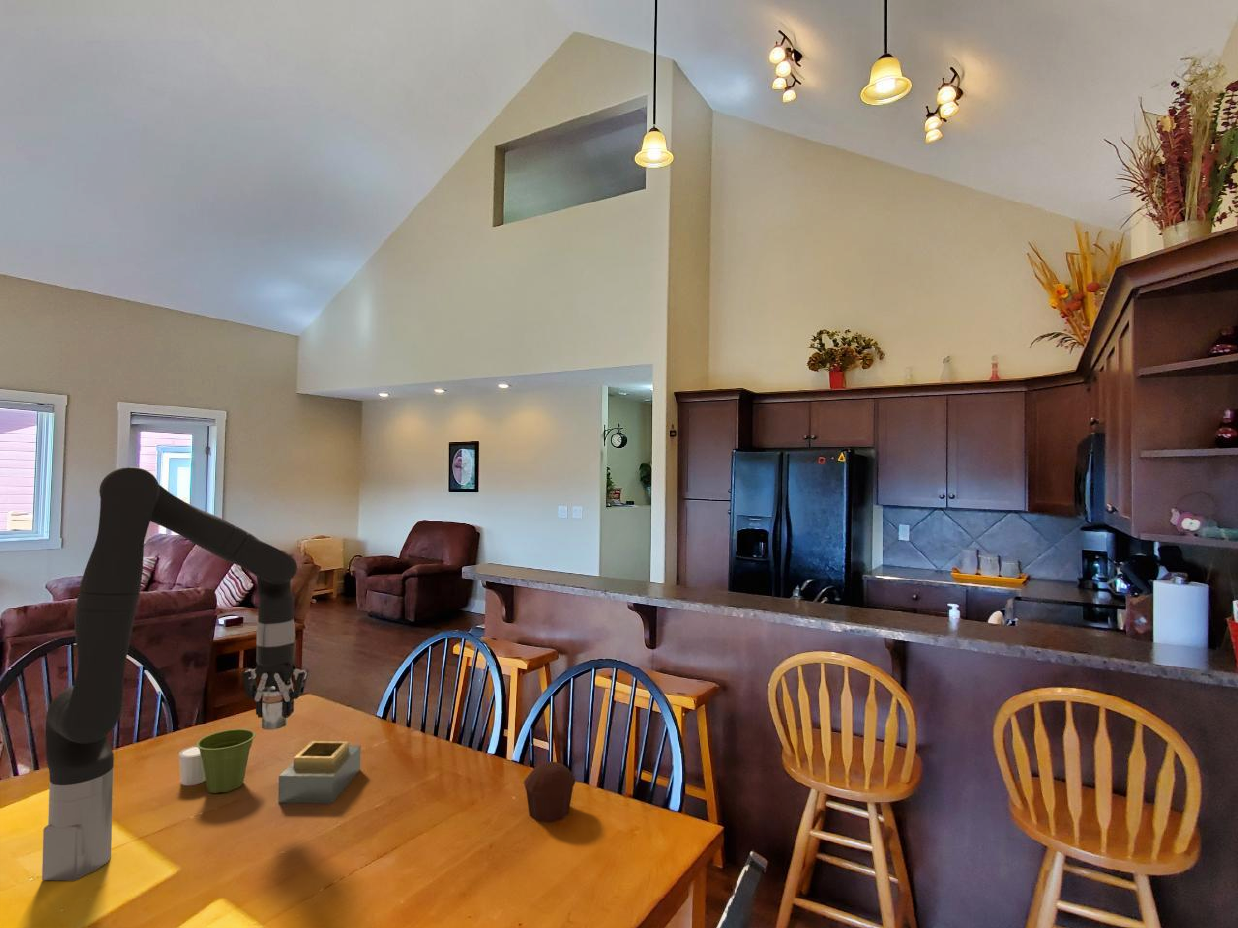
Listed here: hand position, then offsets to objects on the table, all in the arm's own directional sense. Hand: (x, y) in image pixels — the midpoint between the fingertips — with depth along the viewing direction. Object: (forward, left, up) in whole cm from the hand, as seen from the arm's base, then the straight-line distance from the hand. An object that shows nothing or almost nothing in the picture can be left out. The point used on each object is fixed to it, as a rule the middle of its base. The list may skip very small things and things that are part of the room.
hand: (275, 716), depth 141 cm
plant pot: (+8, +15, -20) cm, 27 cm away
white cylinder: (+11, +24, -20) cm, 34 cm away
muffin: (-1, -62, -20) cm, 65 cm away
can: (0, 0, -2) cm, 2 cm away
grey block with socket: (+9, -7, -20) cm, 23 cm away
